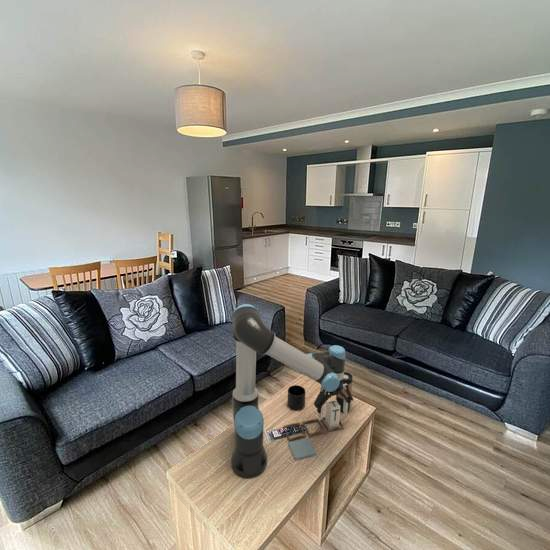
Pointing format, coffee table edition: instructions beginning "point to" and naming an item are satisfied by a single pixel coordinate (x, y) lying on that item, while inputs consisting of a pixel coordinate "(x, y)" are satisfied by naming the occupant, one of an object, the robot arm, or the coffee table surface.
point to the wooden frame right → (332, 428)
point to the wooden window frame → (314, 432)
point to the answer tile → (302, 449)
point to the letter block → (332, 414)
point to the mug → (296, 397)
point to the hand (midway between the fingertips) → (332, 415)
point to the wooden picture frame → (296, 436)
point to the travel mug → (339, 398)
